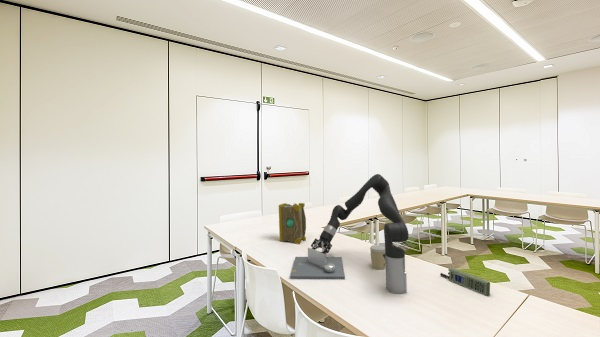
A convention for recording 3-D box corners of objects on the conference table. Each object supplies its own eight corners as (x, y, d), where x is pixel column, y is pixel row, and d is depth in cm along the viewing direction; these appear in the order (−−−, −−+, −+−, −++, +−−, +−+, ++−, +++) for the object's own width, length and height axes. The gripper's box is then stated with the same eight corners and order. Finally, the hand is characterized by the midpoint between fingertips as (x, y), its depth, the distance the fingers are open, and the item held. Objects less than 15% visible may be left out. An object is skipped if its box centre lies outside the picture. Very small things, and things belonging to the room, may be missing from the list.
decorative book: (278, 241, 224) (277, 204, 223) (285, 237, 234) (284, 201, 233) (300, 244, 215) (299, 205, 214) (307, 240, 225) (306, 203, 224)
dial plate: (341, 259, 183) (341, 256, 183) (345, 279, 153) (344, 276, 153) (295, 259, 185) (295, 256, 185) (290, 278, 156) (290, 276, 155)
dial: (337, 270, 160) (337, 256, 160) (329, 273, 156) (329, 258, 156) (312, 259, 177) (312, 246, 177) (305, 262, 174) (304, 248, 173)
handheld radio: (486, 297, 131) (438, 277, 153) (490, 295, 132) (442, 275, 154) (486, 282, 130) (438, 264, 153) (491, 281, 132) (442, 263, 154)
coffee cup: (387, 270, 163) (387, 250, 162) (370, 269, 164) (370, 249, 164) (385, 264, 172) (385, 245, 171) (370, 263, 174) (369, 244, 173)
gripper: (339, 239, 175) (326, 262, 168) (323, 234, 186) (311, 256, 180) (333, 232, 171) (319, 255, 165) (317, 228, 182) (304, 250, 176)
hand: (315, 256), depth 172 cm, fingers open, 8 cm apart
